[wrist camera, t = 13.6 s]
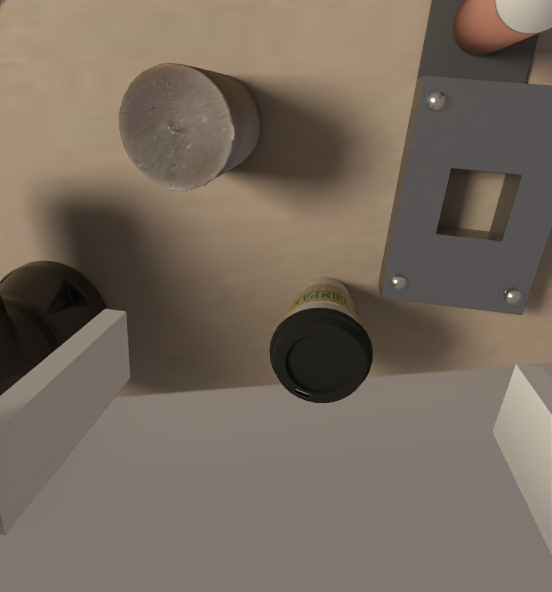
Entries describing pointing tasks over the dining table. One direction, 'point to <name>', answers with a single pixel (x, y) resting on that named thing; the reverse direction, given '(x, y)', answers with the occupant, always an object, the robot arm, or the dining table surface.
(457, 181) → the dining table surface
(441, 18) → the mat
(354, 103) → the dining table surface
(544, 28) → the pink round peg
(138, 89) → the pillar candle
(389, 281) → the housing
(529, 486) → the robot arm
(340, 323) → the coffee cup
